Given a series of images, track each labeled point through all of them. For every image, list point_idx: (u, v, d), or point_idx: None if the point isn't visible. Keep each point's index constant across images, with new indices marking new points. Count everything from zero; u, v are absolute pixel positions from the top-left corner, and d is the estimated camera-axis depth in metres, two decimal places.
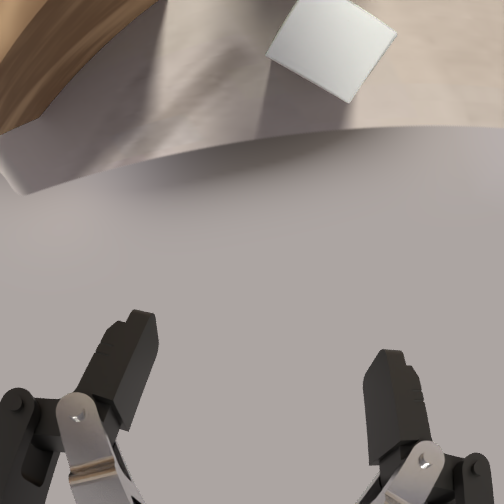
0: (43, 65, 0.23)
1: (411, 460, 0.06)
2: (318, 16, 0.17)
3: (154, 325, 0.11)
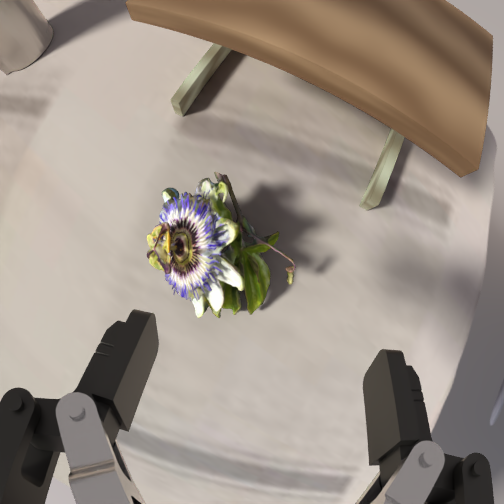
0: None
1: (411, 460, 0.06)
2: None
3: (154, 325, 0.11)
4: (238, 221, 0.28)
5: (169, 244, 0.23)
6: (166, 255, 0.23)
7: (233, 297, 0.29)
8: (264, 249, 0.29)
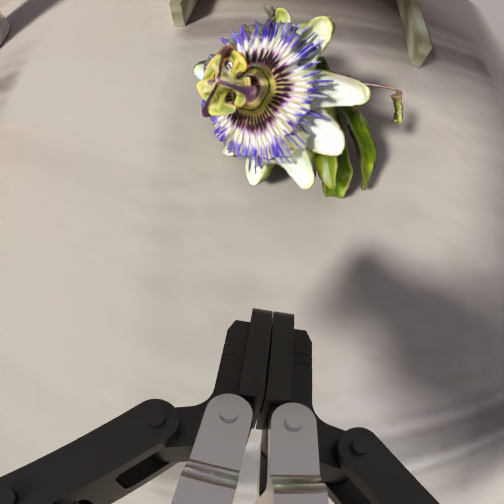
0: None
1: (277, 432, 0.07)
2: None
3: None
4: None
5: (244, 57, 0.13)
6: (241, 79, 0.13)
7: (338, 162, 0.18)
8: None
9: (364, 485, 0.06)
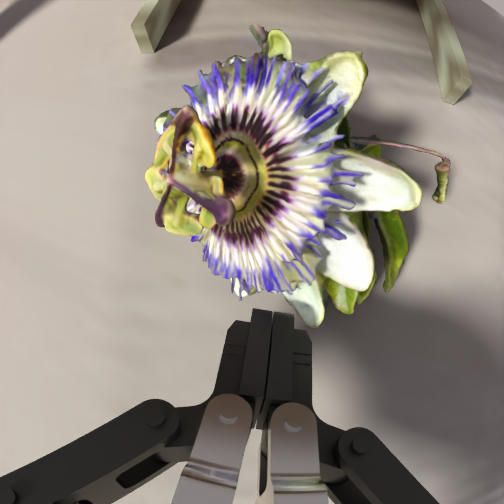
0: None
1: (277, 432, 0.07)
2: None
3: None
4: None
5: (210, 141, 0.08)
6: (208, 180, 0.09)
7: None
8: None
9: (364, 485, 0.06)
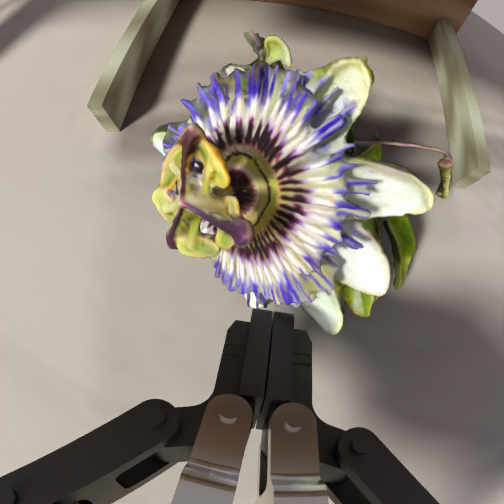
0: None
1: (277, 432, 0.07)
2: None
3: None
4: None
5: (222, 160, 0.08)
6: (223, 200, 0.08)
7: None
8: None
9: (364, 485, 0.06)
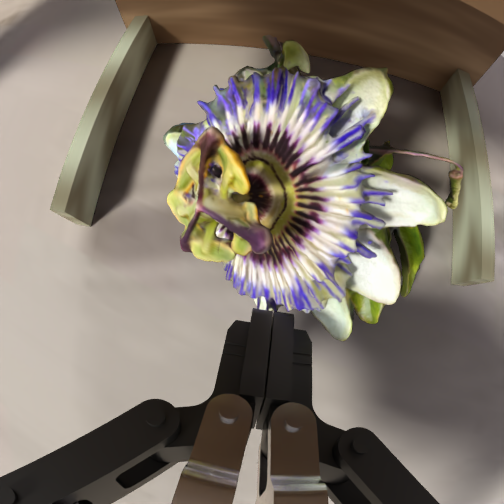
0: None
1: (277, 432, 0.07)
2: None
3: None
4: None
5: (242, 166, 0.08)
6: (241, 206, 0.08)
7: None
8: (387, 169, 0.14)
9: (364, 485, 0.06)
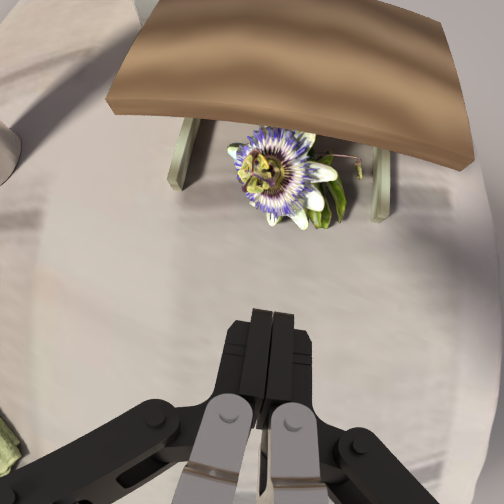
0: None
1: (277, 432, 0.07)
2: None
3: None
4: None
5: (266, 160, 0.26)
6: (266, 173, 0.26)
7: (322, 209, 0.31)
8: (328, 163, 0.32)
9: (364, 485, 0.06)
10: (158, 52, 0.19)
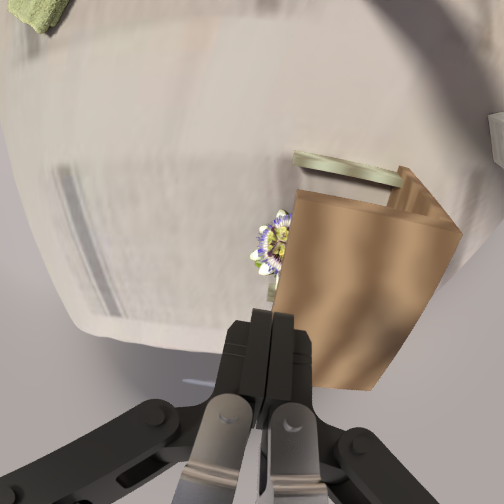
0: None
1: (277, 432, 0.07)
2: None
3: None
4: None
5: None
6: (277, 250, 0.39)
7: None
8: None
9: (364, 485, 0.06)
10: (343, 235, 0.26)
